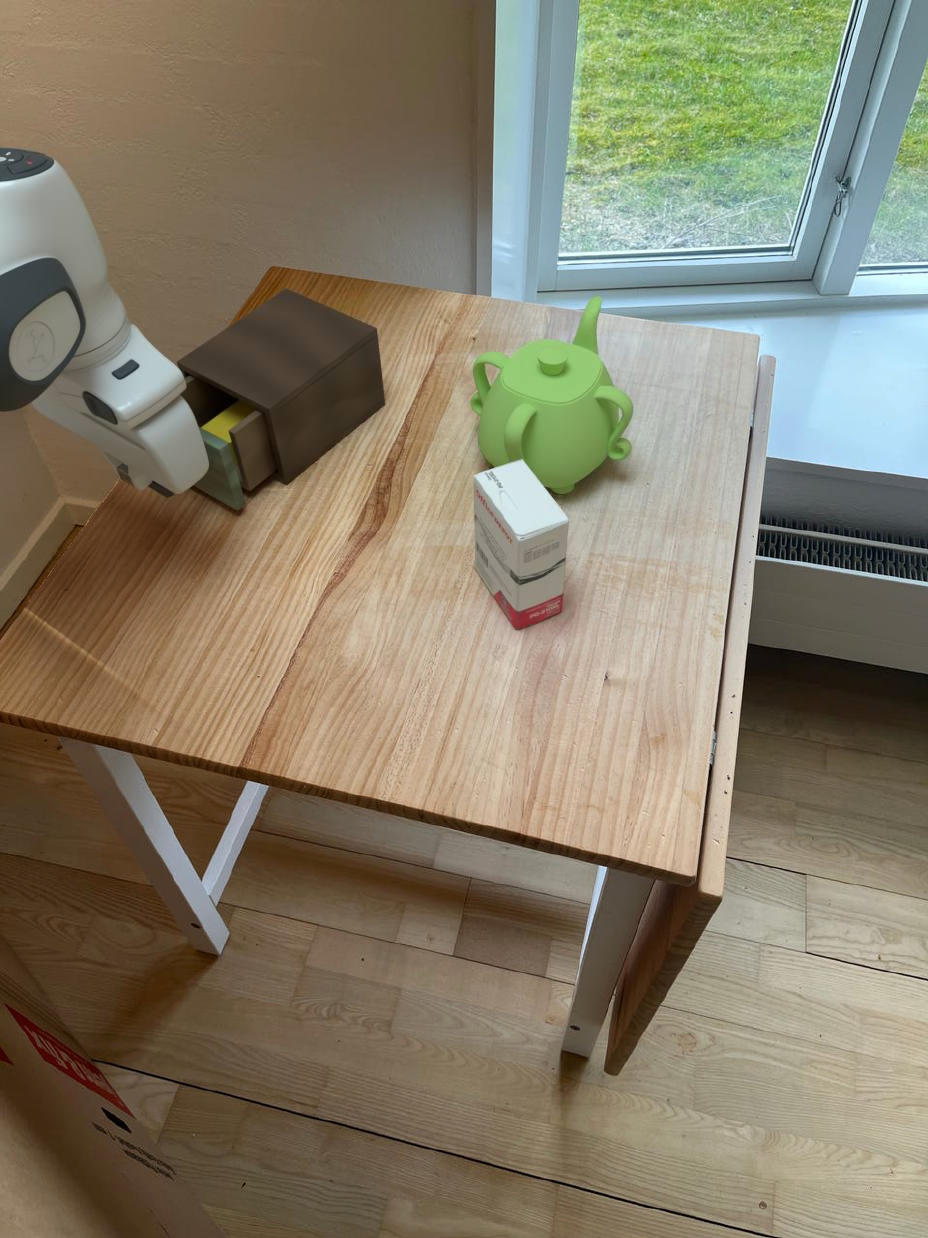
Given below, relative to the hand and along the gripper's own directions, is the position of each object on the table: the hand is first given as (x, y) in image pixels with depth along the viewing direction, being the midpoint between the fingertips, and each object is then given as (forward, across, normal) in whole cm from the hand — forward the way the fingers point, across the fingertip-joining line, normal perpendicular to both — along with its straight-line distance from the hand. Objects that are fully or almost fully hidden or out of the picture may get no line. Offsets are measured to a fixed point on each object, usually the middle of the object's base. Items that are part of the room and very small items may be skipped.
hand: (136, 480), depth 87 cm
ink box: (+7, +33, +14) cm, 36 cm away
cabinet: (+7, 0, +20) cm, 21 cm away
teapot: (+7, +25, +31) cm, 41 cm away
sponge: (+5, 0, +12) cm, 13 cm away
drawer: (+6, 0, +10) cm, 12 cm away
